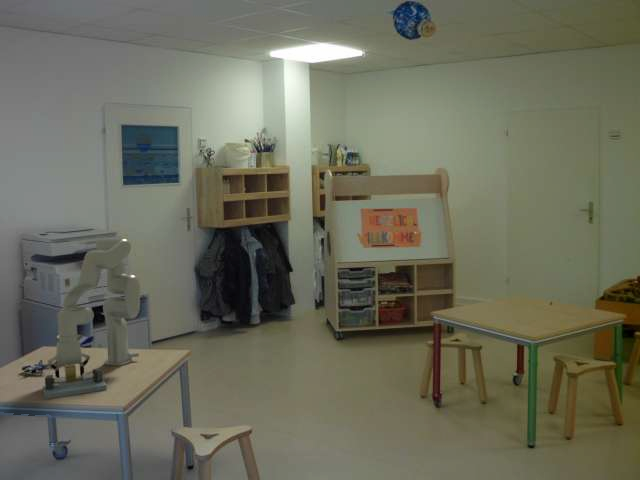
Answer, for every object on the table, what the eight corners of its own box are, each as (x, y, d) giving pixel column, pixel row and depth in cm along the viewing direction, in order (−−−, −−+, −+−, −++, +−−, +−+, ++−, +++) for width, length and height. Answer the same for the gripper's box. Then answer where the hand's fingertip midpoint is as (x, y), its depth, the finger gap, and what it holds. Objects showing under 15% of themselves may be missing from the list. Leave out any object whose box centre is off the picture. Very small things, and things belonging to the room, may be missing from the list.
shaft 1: (45, 390, 283) (44, 378, 282) (47, 387, 287) (46, 375, 286) (65, 388, 284) (64, 376, 284) (66, 385, 288) (66, 373, 288)
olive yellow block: (65, 380, 302) (64, 365, 301) (74, 379, 303) (74, 363, 303) (66, 383, 297) (65, 368, 296) (76, 382, 299) (75, 366, 298)
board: (102, 382, 298) (102, 377, 298) (106, 389, 288) (106, 384, 288) (43, 391, 287) (42, 386, 287) (45, 398, 278) (45, 394, 277)
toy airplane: (17, 380, 303) (17, 372, 302) (17, 372, 315) (16, 364, 315) (49, 376, 308) (48, 368, 308) (47, 368, 321) (47, 361, 320)
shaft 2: (98, 379, 296) (98, 368, 295) (102, 381, 293) (102, 370, 292) (81, 383, 291) (80, 371, 290) (85, 385, 288) (84, 373, 287)
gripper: (87, 334, 305) (89, 372, 307) (46, 339, 298) (47, 377, 299) (90, 338, 299) (91, 376, 300) (47, 342, 291) (49, 382, 293)
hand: (69, 377), depth 300 cm, fingers open, 9 cm apart
